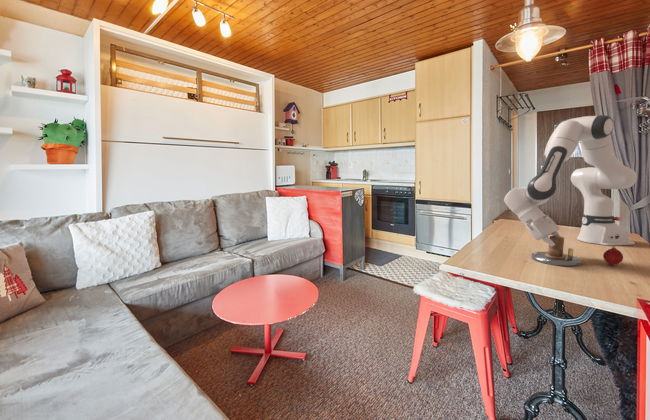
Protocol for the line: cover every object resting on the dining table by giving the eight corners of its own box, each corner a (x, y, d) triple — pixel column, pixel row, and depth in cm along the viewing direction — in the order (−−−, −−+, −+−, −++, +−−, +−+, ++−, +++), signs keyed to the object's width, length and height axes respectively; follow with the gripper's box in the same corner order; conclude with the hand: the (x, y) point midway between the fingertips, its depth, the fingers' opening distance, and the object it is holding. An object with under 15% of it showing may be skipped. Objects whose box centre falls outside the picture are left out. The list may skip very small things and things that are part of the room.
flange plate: (563, 254, 137) (565, 241, 136) (590, 266, 120) (592, 252, 120) (523, 253, 140) (524, 241, 139) (544, 266, 123) (545, 251, 122)
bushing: (558, 255, 133) (560, 235, 131) (569, 259, 126) (571, 239, 125) (541, 254, 134) (543, 235, 132) (551, 259, 127) (552, 239, 126)
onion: (625, 268, 118) (628, 248, 117) (608, 267, 119) (611, 248, 118) (615, 263, 124) (617, 244, 122) (598, 262, 125) (601, 244, 124)
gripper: (530, 217, 127) (556, 243, 120) (547, 211, 139) (571, 235, 132) (518, 225, 131) (542, 252, 125) (535, 219, 143) (558, 243, 137)
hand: (557, 243), depth 129 cm, fingers open, 8 cm apart
